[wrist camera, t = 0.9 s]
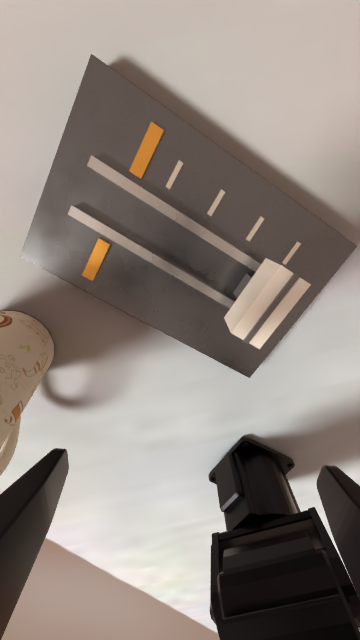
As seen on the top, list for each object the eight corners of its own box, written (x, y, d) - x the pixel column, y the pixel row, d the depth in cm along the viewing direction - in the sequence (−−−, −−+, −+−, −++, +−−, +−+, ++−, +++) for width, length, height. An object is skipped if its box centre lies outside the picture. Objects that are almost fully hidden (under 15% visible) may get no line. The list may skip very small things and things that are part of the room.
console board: (343, 244, 18) (363, 247, 16) (244, 367, 22) (251, 382, 20) (99, 69, 15) (87, 46, 13) (32, 253, 18) (14, 257, 17)
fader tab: (280, 268, 17) (313, 284, 13) (241, 321, 19) (259, 351, 15) (256, 253, 17) (282, 264, 13) (219, 308, 18) (230, 334, 14)
